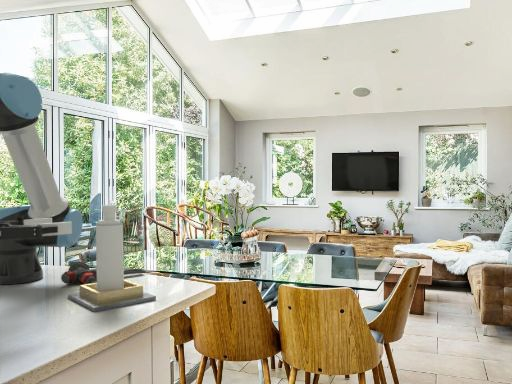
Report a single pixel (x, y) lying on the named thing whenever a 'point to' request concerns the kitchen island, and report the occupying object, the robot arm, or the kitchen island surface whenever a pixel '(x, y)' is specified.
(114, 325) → the kitchen island surface
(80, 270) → the power drill
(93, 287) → the flange plate
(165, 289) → the kitchen island surface
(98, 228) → the white bottle
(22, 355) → the kitchen island surface
